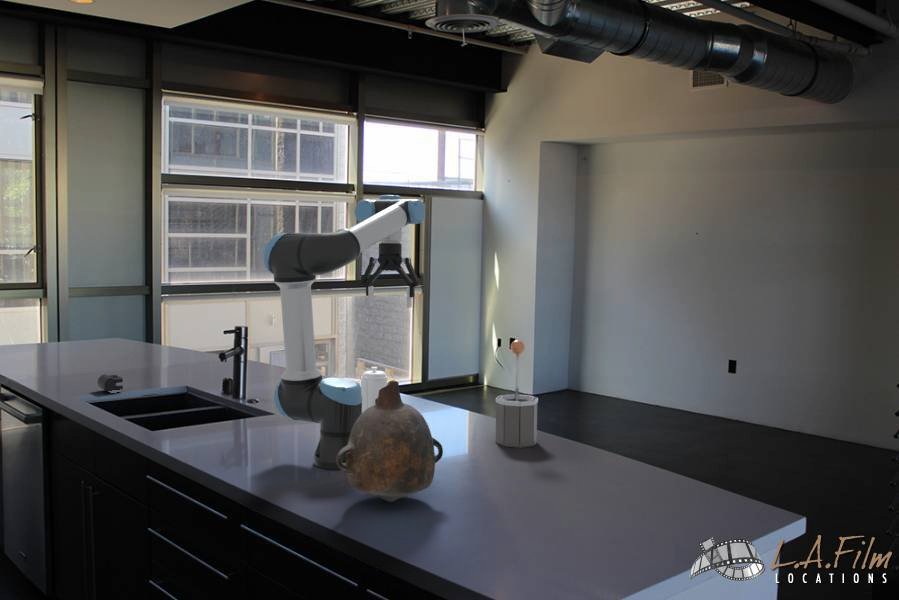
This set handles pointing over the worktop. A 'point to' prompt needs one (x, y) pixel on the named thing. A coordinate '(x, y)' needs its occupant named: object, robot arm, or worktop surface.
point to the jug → (390, 449)
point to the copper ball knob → (517, 362)
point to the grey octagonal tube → (516, 420)
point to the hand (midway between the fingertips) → (389, 306)
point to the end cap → (110, 382)
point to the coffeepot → (372, 386)
